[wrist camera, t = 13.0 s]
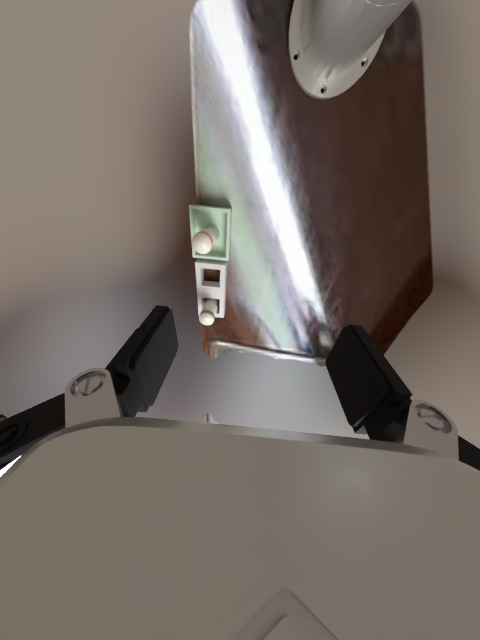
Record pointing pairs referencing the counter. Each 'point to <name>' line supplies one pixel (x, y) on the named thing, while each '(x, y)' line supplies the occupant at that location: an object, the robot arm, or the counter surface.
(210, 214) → the tray
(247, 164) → the counter surface
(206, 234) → the cylinder
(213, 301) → the cylinder
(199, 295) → the holder block
